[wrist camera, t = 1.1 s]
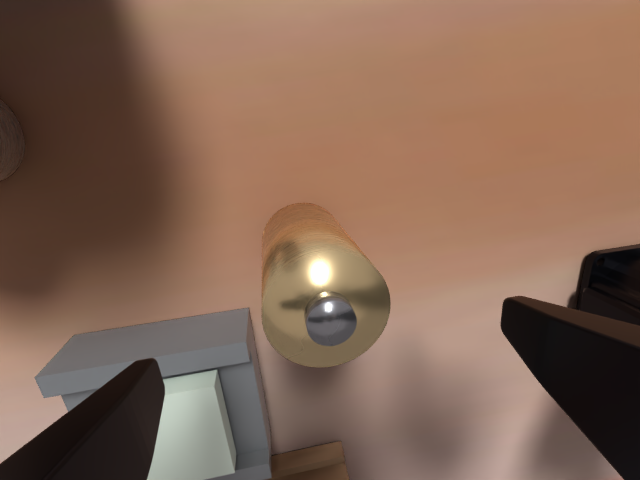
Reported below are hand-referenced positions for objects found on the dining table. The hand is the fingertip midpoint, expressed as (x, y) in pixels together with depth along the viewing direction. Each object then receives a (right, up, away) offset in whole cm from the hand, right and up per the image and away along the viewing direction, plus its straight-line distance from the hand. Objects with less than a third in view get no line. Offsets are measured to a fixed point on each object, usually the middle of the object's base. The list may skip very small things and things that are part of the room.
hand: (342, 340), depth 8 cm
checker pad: (-7, -6, +6) cm, 11 cm away
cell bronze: (-1, +2, +7) cm, 8 cm away
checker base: (-8, -5, +9) cm, 13 cm away
